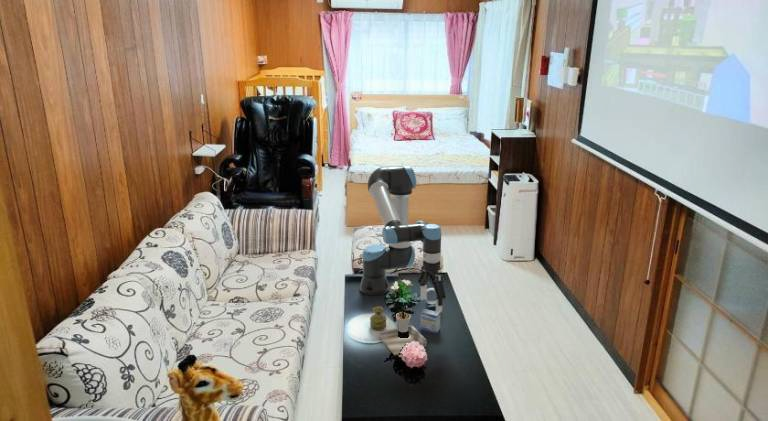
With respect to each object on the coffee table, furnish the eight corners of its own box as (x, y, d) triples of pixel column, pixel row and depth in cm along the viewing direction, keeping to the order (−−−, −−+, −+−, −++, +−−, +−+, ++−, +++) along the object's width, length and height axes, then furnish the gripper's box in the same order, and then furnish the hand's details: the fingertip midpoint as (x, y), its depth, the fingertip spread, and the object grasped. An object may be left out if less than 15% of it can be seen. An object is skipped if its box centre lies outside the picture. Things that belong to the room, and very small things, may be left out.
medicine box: (420, 330, 234) (420, 312, 231) (423, 325, 238) (423, 308, 235) (436, 333, 231) (437, 316, 228) (440, 329, 235) (440, 311, 232)
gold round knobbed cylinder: (366, 327, 237) (366, 307, 234) (377, 321, 242) (377, 301, 239) (378, 332, 232) (378, 312, 229) (389, 326, 237) (389, 306, 234)
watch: (441, 311, 250) (442, 290, 247) (424, 312, 249) (425, 291, 246) (438, 306, 255) (439, 285, 252) (422, 307, 254) (422, 286, 251)
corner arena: (380, 339, 227) (380, 332, 226) (411, 331, 233) (411, 324, 232) (394, 355, 215) (394, 348, 214) (426, 347, 221) (426, 339, 220)
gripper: (410, 252, 234) (410, 295, 240) (439, 272, 212) (438, 319, 218) (425, 249, 237) (424, 292, 243) (454, 269, 215) (453, 315, 221)
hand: (430, 305), depth 230 cm, fingers open, 13 cm apart
